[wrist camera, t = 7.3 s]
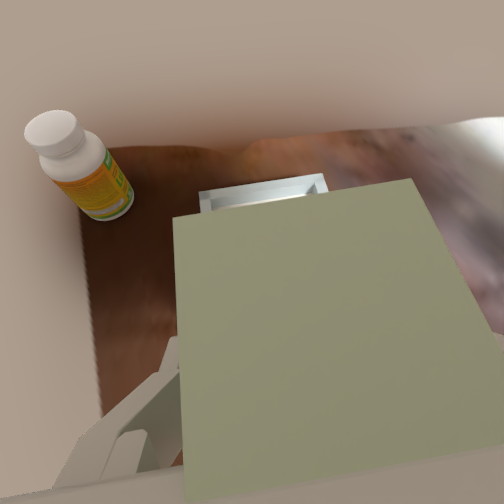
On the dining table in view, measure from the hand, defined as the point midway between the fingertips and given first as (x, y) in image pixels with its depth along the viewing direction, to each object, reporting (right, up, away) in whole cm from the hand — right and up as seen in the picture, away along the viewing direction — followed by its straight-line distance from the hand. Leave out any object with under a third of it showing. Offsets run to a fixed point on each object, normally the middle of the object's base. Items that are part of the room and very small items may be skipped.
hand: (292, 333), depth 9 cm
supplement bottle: (-17, +8, +22) cm, 28 cm away
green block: (0, -3, +5) cm, 6 cm away
